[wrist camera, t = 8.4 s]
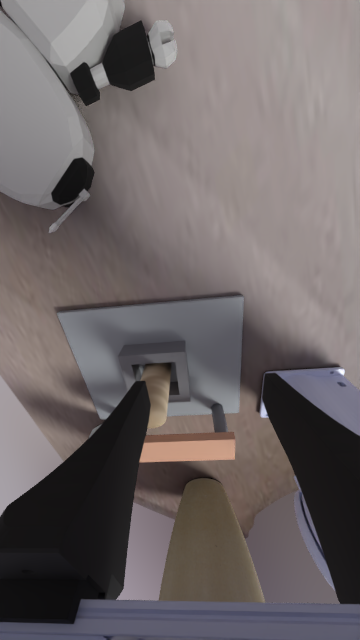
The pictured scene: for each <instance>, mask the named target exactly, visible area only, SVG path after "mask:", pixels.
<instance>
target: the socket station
mask: <svg viewBox="0 0 360 640" xmlns="http://www.w3.org/2000/svg"><path fill="white" fill-rule="evenodd" d="M243 306H244V296H243V295H236V296H225V297H214V298H203V299H191V300H180V301H169V302H157V303H146V304H135V305H124V306H112V307H101V308H90V309H79V310H67V311H59V312H58V313H57V315H58V318H59V320H60V322H61V325H62V327H63V330H64V332H65V335H66V337H67V339H68V342H69V344H70V347H71V349H72V352H73V354H74V356H75V359H76V361H77V364H78V366H79V369H80V371H81V373H82V376H83V378H84V381H85V383H86V385H87V388H88V390H89V393H90V395H91V398H92V400H93V402H94V405H95V407H96V410H97V412H98V415H99V417H100V419H107V418H108V416H109V415H110V414H111V413H112V412H113V410H114V409H115V408H116V407H117V405H118V404H119V403H120V401H121V400H122V399H123V397H124V396H125V395H126V393H127V392H128V391H129V389H130V388H131V386H132V385H133V384H134V382H135V381H140V380H141V377H142V374H143V370H144V367H145V364H150V363H165V362H171V365H172V367H171V377H170V387H169V398H168V408H167V416H183V415H204V414H212V417H213V423H214V430H215V433H194V434H170V435H146V436H145V440H144V445H143V449H142V453H141V457H140V462H167V461H199V460H230V459H235V436H234V432H228V428H227V424H226V419H225V413H239V398H240V375H241V352H242V329H243Z"/></svg>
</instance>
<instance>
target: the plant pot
mask: <svg viewBox="0 0 360 640" xmlns="http://www.w3.org/2000/svg"><path fill="white" fill-rule="evenodd" d="M159 601H205V602H261V603H265V600H264V596H263V593H262V590H261V587H260V584H259V580H258V577H257V574H256V571H255V568H254V565H253V562H252V559H251V556H250V553H249V550H248V548H247V545H246V542H245V539H244V536H243V534H242V531H241V528H240V526H239V523H238V520H237V518H236V515H235V513H234V510H233V508H232V506H231V503H230V501H229V499H228V496H227V494H226V492H225V490H224V488H223V486H222V484H221V483H219V482H218V481H216V480H213V479H208V478H199V479H194V480H192V481H190V482H188V483H187V484H186V486H185V489H184V492H183V495H182V498H181V501H180V505H179V508H178V512H177V516H176V519H175V523H174V527H173V532H172V535H171V540H170V544H169V549H168V554H167V558H166V563H165V569H164V574H163V579H162V584H161V590H160V596H159Z"/></svg>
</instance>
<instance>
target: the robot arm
mask: <svg viewBox="0 0 360 640" xmlns="http://www.w3.org/2000/svg"><path fill="white" fill-rule="evenodd" d="M344 372H345V370H344V369H343V368H342V367H334V368H318V369H302V370H285V371H269V372H265V373H264V377H263V386H262V395H261V404H260V416H261V417H269V419H270V421H271V423H272V425H273V428H274V430H275V432H276V434H277V436H278V438H279V440H280V442H281V444H282V446H283V448H284V450H285V452H286V454H287V456H288V459H289V461H290V463H291V465H292V468H293V470H294V473H295V476H294V479H295V481H296V483H297V485H298V488H299V490H298V491H297V492H296V493H295V496H294V505H295V515H296V519H297V523H298V526H299V529H300V532H301V534H302V537H303V539H304V542H305V544H306V546H307V548H308V550H309V552H310V554H311V556H312V558H313V560H314V561H315V563H316V565H317V567H318V568H319V570H320V571H321V573H322V574H323V576H324V577H325V579H326V580H327V582H328V583H329V584H330V585H331V587H332V588H333V589H334V590H335V591H336V594H337V597H338V600H339V602H340V604H318V603H316V604H315V603H261V602H205V601H145V600H144V601H143V600H116V599H117V597H118V596H119V595H120V593H121V592H122V590H123V587H124V577H125V567H126V558H127V548H128V539H129V530H130V522H131V514H132V507H133V499H134V492H135V485H136V478H137V472H138V467H139V462H140V457H141V453H142V449H143V445H144V440H145V436H146V432H147V427H148V423H149V416H150V407H151V403H150V399H149V394H148V390H147V386H146V382H145V381H135V382H134V384H133V385H132V386H131V388H130V389H129V391H128V392H127V393H126V395H125V396H124V397H123V399H122V400H121V401H120V403H119V404H118V405H117V407H116V408H115V409H114V410H113V412H112V413H111V414H110V415H109V416H108V418H107V419H106V420H105V421H104V422H103V424H102V425H101V426H100V427H99V428H98V429H97V430H96V431H95V432H94V433H93V435H92V436H91V437H90V438H89V439H88V440H87V441H86V442H85V443H84V444H83V445H82V446H81V447H79V448H78V449H77V450H76V451H75V452H74V453H73V454H72V455H71V456H70V457H69V458H68V459H67V460H65V461H64V462H63V463H62V464H61V465H60V466H58V467H57V468H56V469H55V470H54V471H53V472H51V473H50V474H49V475H48V476H46V477H45V478H44V479H43V480H41V481H40V482H39V483H38V484H36V485H35V486H34V487H32V488H31V489H30V490H28V491H27V492H26V493H24V494H23V495H22V496H20V497H19V498H18V499H16V500H15V501H14V502H12V503H11V504H9V505H8V506H7V508H6V509H5V511H4V512H3V514H2V515H1V517H0V640H360V390H359V389H357V388H356V387H355V386H354V385H353V384H352V383H351V382H350V381H349V380H347V379H346V378H345V377H344V376H343V375H344Z"/></svg>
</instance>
